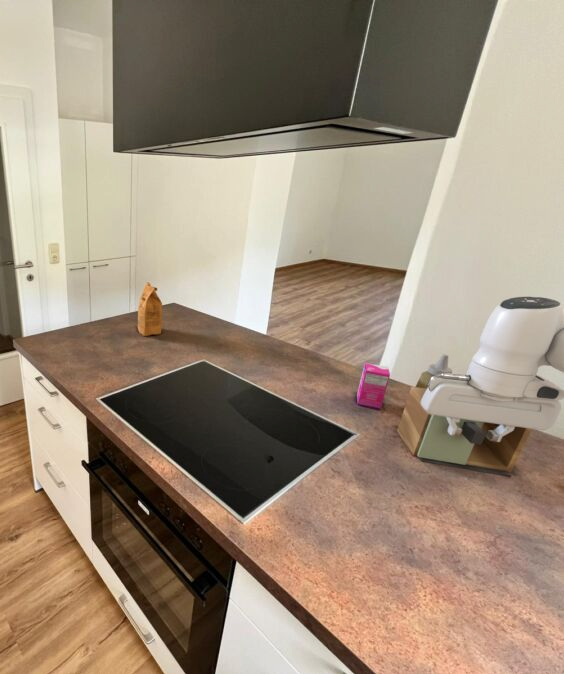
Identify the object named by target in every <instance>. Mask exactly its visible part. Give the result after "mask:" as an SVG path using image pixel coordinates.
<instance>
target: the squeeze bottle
mask: <svg viewBox="0 0 564 674" xmlns="http://www.w3.org/2000/svg"><path fill="white" fill-rule="evenodd" d="M441 373H450V374H453V370H452V368H450V367H449V355H448V354H445V353H444V354H443V353H442V355H441V356H440V357H439V359H438V360H437V362H435V364H434V363H433V364H429V366H428V368H427V370H426V371H424V372H421V374H420V377H419V378H418V381H417V382H416V384H415V386H414V387H417V388H425V389H427V388H428V384H429V381H430V379H431V377H433V376H435V375H438V374H441ZM438 377H441V376H438Z"/></svg>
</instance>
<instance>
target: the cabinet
mask: <svg viewBox="0 0 564 674" xmlns="http://www.w3.org/2000/svg"><path fill="white" fill-rule="evenodd" d="M426 390H427V389H425V388H417V387H415V386H411V387H410V391H409V393H408V396H407V399H406V402H405V405H404V408H403V411H402V414H401V417H400V421H399V424H398V426H397V429H396V432H397V434H398V435H399V436H400V438H401V439H402V441H403V442H404V444H405V445H406V447H407V449H408V450H409V451H410V453H411V455H412V456H414V457H418V456H417V454H418V451H419V449H420V446H421V443H422V441H423V438H424V435H425V432H426V430H427V427H428V424H429V421H430V419H431V416H432V415H431V414H428V413H427V412H426V411H425V409H424V408H423V407H422V405H421V399H422V397H423V395H424V393H425V391H426ZM498 426H500V424H494V423H487V422H484V423H483V425H482V428H481V429H482V430H483V431H484V432H485V433H486V434H488V433H487V432H488V430H494V429H496V428H497V427H498ZM532 431H533V429H530V428H523V427H516V426H515V428H514V430H513V431H512V432H510V433H508V434H506V435H504V436H502V439H501V441H500V442H494V441H489V439H487V438H486V435H485V438H484V440H483V442H482V444H481V445H479V444H474V446H473V448H472V451H471V453H470V455H469V458H468V460H467V462H466V464H465V465H463V464H457V463H451V462H445V461H439V460H433V459H427V458H421V457H419V460H420V461H421V462H422V463H429V464H434V465H441V466H445V467H452V468H457V469H464V470H469V471H476V472H480V473H487V474H493V475H499V476H505V477H509V478H511V477H512V474H511V473H512V471H513V469H514V467H515V465H516V464H517V461H518V459H519V457H520V455H521V453H522V451H523V449H524V447H525V446H526V443H527V441H528V439H529V437H530V434H531V433H532Z"/></svg>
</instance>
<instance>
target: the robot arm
mask: <svg viewBox="0 0 564 674" xmlns="http://www.w3.org/2000/svg"><path fill="white" fill-rule="evenodd" d="M543 366H545V367H546V366H547V367H552V368H554V369H555V370H557V371H559V372H561V373H563V374H564V306H563V305H562V303H561V302H560V301H558V300H555V299H551V298H548V297H542V296H538V297H537V296H517V297H516V296H515V297H511V298H508V299H504V300H502V301H501V302H499V304H498V305H497V306H495V308H494V309H493V311H492V312H491V314H490V315H489V317H488V319H487V321H486V322H485V325H484V328H483V330H482V332H481V334H480V337H479V347H478V349H477V351H476V352H475V353H474V355H473V356H472V358H471V360H470V363H469V366H468V368H467V370H466V372H465V374H460V373H452V374H450V373H441V374H438V375H435V376H433V377H431V379H430V381H429V384H428V388H427V390H426V391H425V393H424V395H423V397H422V399H421V405H422V407H423V408H424V409H425V411H426V412H427V413H428V414H431V415H437V416H444V417H446V418H447V421H448V423H449V427H448V430H447V431H448V433H449V434H450V435H454V436H460V435H461V434H460V433H461V432H462V429H461V428H459V426H458V425H456V423H455V422H459V421H460V419H466V420H473V421H480V422H487V423H494V424H500V426H498V427H497V428H496V429H494V430H488V432H487V433H488V434H486V438H487V439H489V441H494V442H500V441H501V439H502V436H504V435H506V434H508V433H510V432H512V431H513V430H514V428H515V426H516V427H523V428H530V429H532V430H539V431H547V430H550V429H552V428H553V427H554V426H555V424H556V422H557V420H558V418H559V416H560V414H561V413H560V412H561V409H562V404H561V402H560V401H562V400H563V399H564V389H563V388H562V387H560V386H558V384H556V383H554V382H552V381H550V380H549V379H546V378H545V377H543V376H541V375H538V371H539V368H540V367H543ZM438 376H441V377H438Z"/></svg>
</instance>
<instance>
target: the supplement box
mask: <svg viewBox="0 0 564 674" xmlns="http://www.w3.org/2000/svg"><path fill="white" fill-rule="evenodd" d="M363 365H364V366H363V369H362V374H361V377H360V381H359V386H358V389H357V393H356V402H357V403H356V404H357V406H360V407H364V408H368V409H373V410H377V411H381V410H382V406H383V403H384V398H385V395H386V392H387V389H388V384H389V381H390V378H391V373H390V369H389V366H387V365H379V364H374V363H368V362H365V363H364V364H363Z"/></svg>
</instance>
